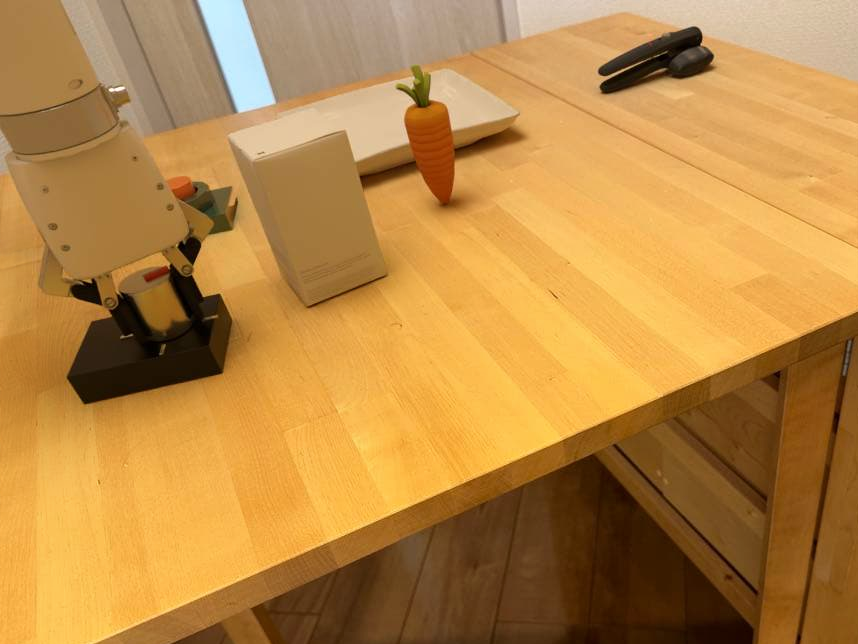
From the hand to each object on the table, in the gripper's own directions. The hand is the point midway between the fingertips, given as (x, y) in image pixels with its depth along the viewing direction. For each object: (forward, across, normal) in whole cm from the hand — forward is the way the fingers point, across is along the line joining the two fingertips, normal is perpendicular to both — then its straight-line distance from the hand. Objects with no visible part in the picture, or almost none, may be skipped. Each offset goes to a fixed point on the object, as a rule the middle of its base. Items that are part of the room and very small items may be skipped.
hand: (167, 322), depth 68 cm
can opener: (+4, -76, -14) cm, 77 cm away
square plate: (+4, -41, -28) cm, 50 cm away
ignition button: (0, -11, -27) cm, 29 cm away
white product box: (+4, -17, -2) cm, 17 cm away
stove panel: (+4, +2, -1) cm, 4 cm away
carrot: (+4, -33, -5) cm, 34 cm away
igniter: (+4, -11, -27) cm, 29 cm away
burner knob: (0, 0, 0) cm, 0 cm away
